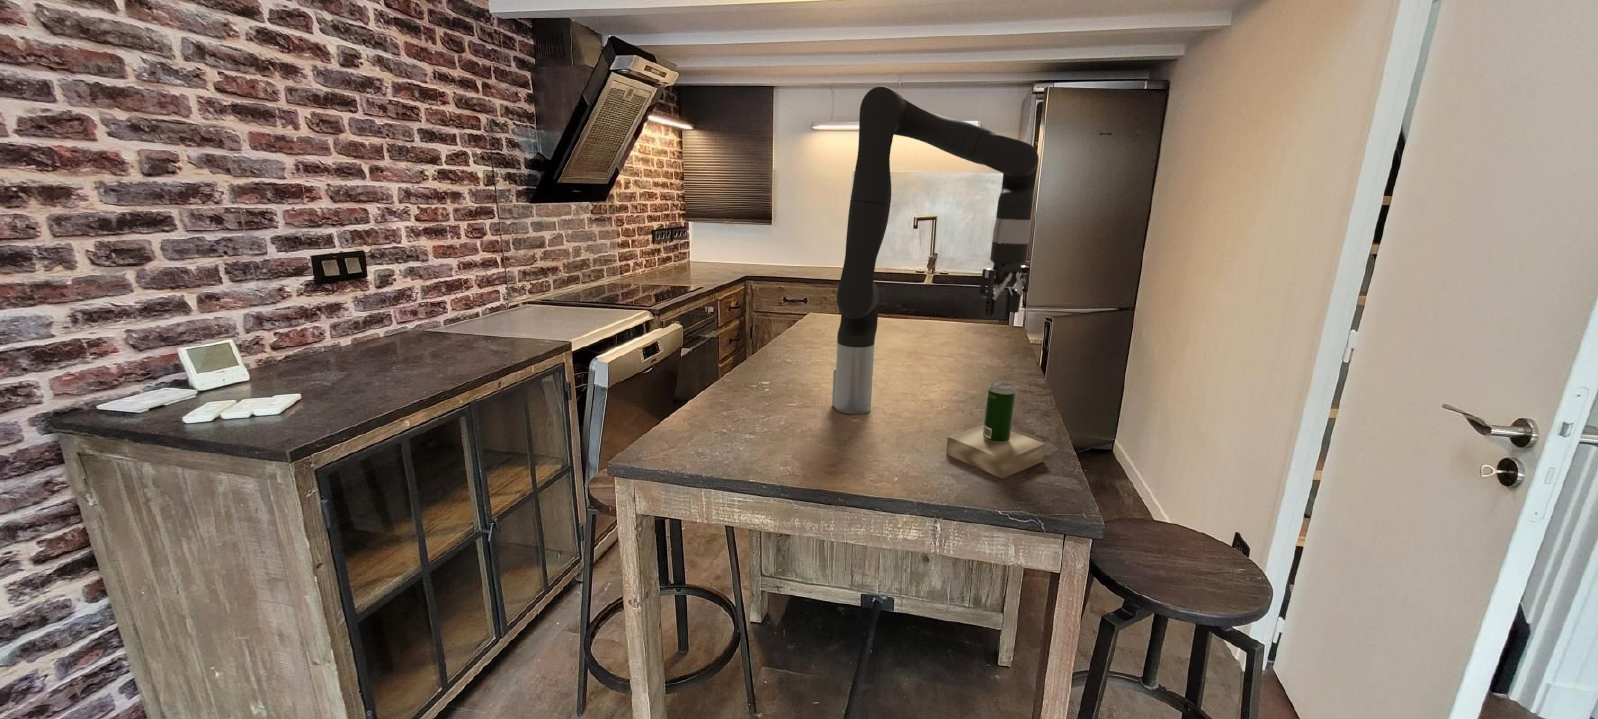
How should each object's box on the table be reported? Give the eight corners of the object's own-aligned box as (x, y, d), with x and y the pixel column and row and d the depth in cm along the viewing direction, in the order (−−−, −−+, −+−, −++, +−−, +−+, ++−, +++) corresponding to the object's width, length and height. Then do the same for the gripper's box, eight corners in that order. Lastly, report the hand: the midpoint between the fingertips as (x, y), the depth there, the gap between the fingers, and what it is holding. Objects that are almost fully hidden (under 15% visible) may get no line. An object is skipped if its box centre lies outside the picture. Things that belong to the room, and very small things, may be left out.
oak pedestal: (946, 453, 131) (947, 436, 129) (986, 439, 139) (988, 422, 138) (1002, 478, 120) (1004, 459, 119) (1042, 461, 128) (1045, 443, 127)
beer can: (997, 447, 125) (1004, 391, 121) (977, 438, 129) (983, 383, 126) (1014, 441, 128) (1021, 387, 124) (994, 433, 132) (1000, 379, 129)
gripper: (1015, 238, 140) (1006, 308, 144) (975, 239, 131) (967, 314, 136) (1045, 241, 134) (1035, 314, 138) (1004, 243, 126) (995, 320, 130)
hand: (1001, 314), depth 137 cm, fingers open, 8 cm apart
